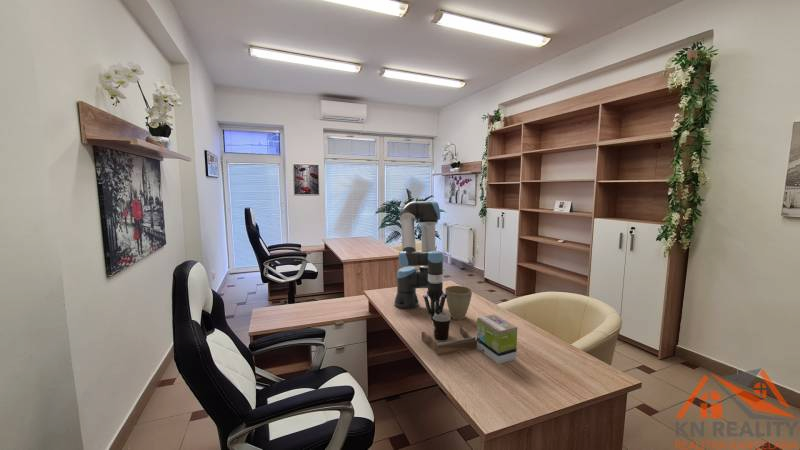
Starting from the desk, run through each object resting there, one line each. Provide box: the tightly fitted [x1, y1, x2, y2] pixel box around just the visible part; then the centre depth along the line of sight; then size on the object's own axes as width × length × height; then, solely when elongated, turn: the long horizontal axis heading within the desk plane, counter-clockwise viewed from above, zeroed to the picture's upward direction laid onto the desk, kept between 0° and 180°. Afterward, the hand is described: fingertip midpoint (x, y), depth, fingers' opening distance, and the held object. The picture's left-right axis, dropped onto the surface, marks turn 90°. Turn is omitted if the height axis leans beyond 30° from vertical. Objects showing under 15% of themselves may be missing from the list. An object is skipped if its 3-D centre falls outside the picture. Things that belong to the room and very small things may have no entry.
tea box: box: [476, 314, 518, 365], centre depth 138 cm, size 15×10×15 cm
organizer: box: [421, 325, 478, 356], centre depth 147 cm, size 16×22×5 cm
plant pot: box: [444, 285, 473, 320], centre depth 178 cm, size 15×15×16 cm
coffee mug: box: [432, 313, 452, 342], centre depth 155 cm, size 12×9×10 cm
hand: (434, 326), depth 163 cm, fingers closed
